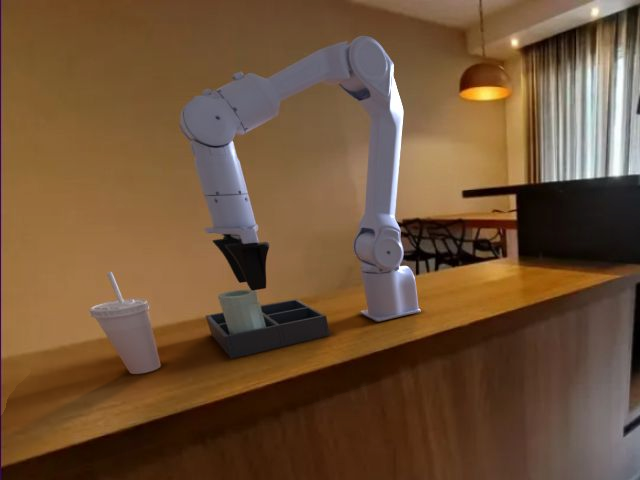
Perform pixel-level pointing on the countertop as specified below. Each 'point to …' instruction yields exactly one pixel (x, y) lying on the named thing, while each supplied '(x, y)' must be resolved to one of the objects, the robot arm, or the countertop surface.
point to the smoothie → (129, 330)
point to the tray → (271, 329)
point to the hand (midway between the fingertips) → (252, 285)
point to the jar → (241, 311)
